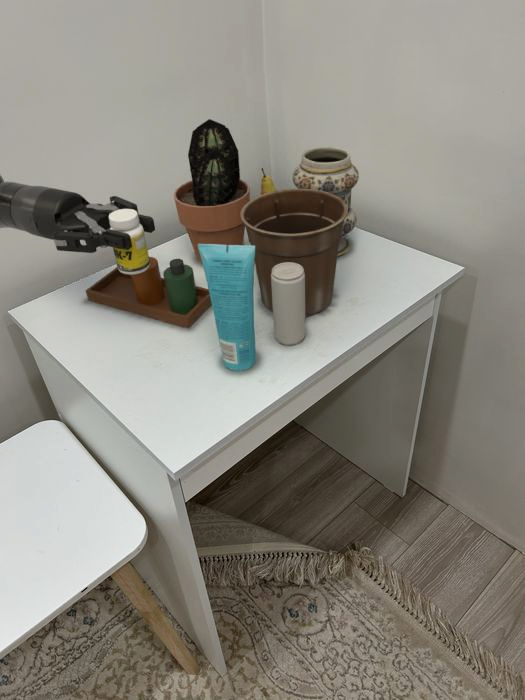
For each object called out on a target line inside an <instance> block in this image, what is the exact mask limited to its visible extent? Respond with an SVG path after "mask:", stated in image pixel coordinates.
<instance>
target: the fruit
mask: <svg viewBox="0 0 525 700" xmlns="http://www.w3.org/2000/svg"><path fill="white" fill-rule="evenodd" d="M261 171H262V174H263V175H262V176H261V181H260V182H261V183H260V195H263V194H266V193H269V192H273V191H277V188H276V185H275V183H274V181H273V179H272V178H271V176H269V175H268V174H265V171H264V168H263V167H261Z"/></svg>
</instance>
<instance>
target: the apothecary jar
mask: <svg viewBox="0 0 525 700" xmlns="http://www.w3.org/2000/svg"><path fill="white" fill-rule="evenodd" d="M291 178H292V183H293V185H294V186H295V187H296V189H313V190H320V191H324V192H328V193H331V194H333V195H335V196H337V197H339V198H341V199H342V200H343V201H344V202H345V203H346V205H347V208H348V211H347V216H346V218H345V219H344V222H343V230H342V236H341V238H340V240H339V247H338V255H337V258H338V257H341V256H342V255H344V254H346V253H347V252H348V251H349V249H350V247H351V244H350V242H349V240H348V239H347V238H346V236H347V235H348V234H350V233H351V232H352V231H353V230H354V229H355V227H356V224H357V220H358V219H357V218H358V217H357V214H356V211H354V209H353V208H352V189H353V188H354V187H356V185H357V184H358V182H359V179H360V173H359V170H358V168H357V166H356V165H355V164H354V163H352V160H351V154H350V152H349V151H348V150H346V149H344V148H340V147H336V146H316V147H312V148H309V149H307V150H305V151H304V152H303V153H302V154H301V161H300V163H299V164H298V165H297V166H296V167H295V168H294V170H293V172H292V177H291Z"/></svg>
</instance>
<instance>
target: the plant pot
mask: <svg viewBox="0 0 525 700" xmlns="http://www.w3.org/2000/svg"><path fill="white" fill-rule="evenodd" d="M347 211H348V208H347V205H346V203H345V202H344V201H343V200H342V199H341V198H339V197H337V196H335V195H333V194H331V193H328V192H324V191H320V190H313V189H298V188H287V189H279V190H276V191H273V192H269V193H266V194H263V195H261V194H260V195H258V196H256V197H254V198H252V199H250V201H249V202H248V203H247V204H246V205H245V206H244V207H243V208H242V210H241V219H242V222H243V223H244V225H245V231H246V235H247V240H248V242H249V244H250V246H255V259H254V268H255V272H256V277H257V282H258V287H259V293H260V300H261V302H262V305H263V306H264V307H265V308H266V310H268V311H270V312H271V313H273V302H272V285H271V274H272V269H273V267H274V266H276V265H278V264H280V263H285V262H292V263H297V264H299V265H301V266H302V267H303V269H304V273H305V317H310V316H313V315H315V314H318V313H321V312H322V311H324V310H326V308H327V307H329V306H330V305H331V303H332V301H333V297H334V289H335V281H336V273H337V272H336V271H337V263H338V257H337V255H338V247H339V240H340V238H341V236H342V230H343V222H344V219H345V218H346V216H347Z"/></svg>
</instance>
